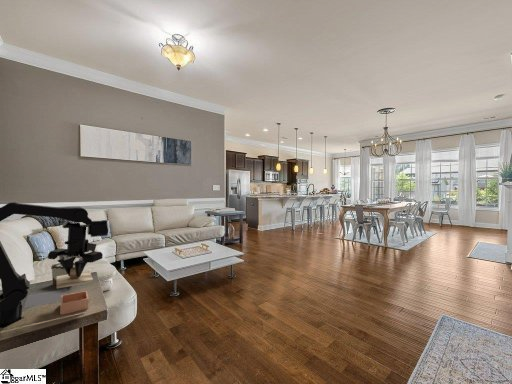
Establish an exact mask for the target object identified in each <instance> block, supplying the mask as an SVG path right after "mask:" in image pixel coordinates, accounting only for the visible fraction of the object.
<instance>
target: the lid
mask: <svg viewBox="0 0 512 384" xmlns="http://www.w3.org/2000/svg"><path fill="white" fill-rule="evenodd" d="M56 281H57V285H56V289H64V288H68V287H69V286H71V287H72V286H74V287H75V286H79V285H85V284H90V283H93V282H94V278H93V276H92V274H91V271H90V270H89V271H82V274H81V276H80V277H77V274H76V267H73V268H70V276H68V275H62V276H57V278H56Z"/></svg>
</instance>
